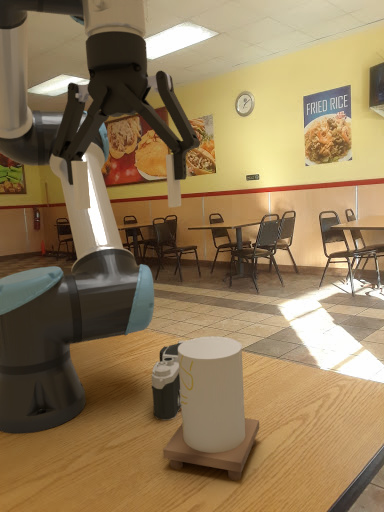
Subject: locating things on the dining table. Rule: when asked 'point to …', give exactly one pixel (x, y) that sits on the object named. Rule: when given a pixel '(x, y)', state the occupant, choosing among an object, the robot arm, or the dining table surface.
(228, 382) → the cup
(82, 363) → the dining table surface
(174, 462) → the wooden stand
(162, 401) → the camera
